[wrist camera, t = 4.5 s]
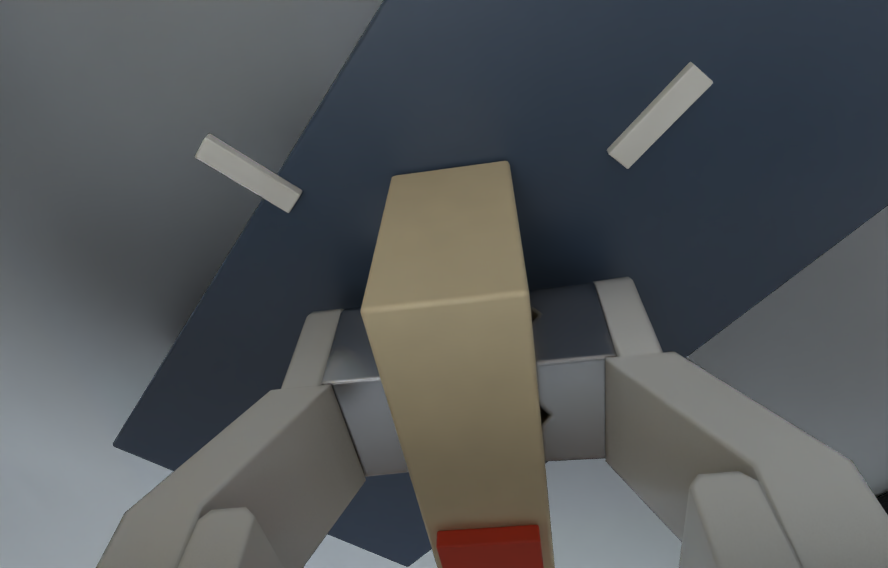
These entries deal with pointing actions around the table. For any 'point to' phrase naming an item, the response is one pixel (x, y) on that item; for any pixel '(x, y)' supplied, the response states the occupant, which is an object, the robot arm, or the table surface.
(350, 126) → the toy road piece
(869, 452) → the table surface
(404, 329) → the beige block red patch
